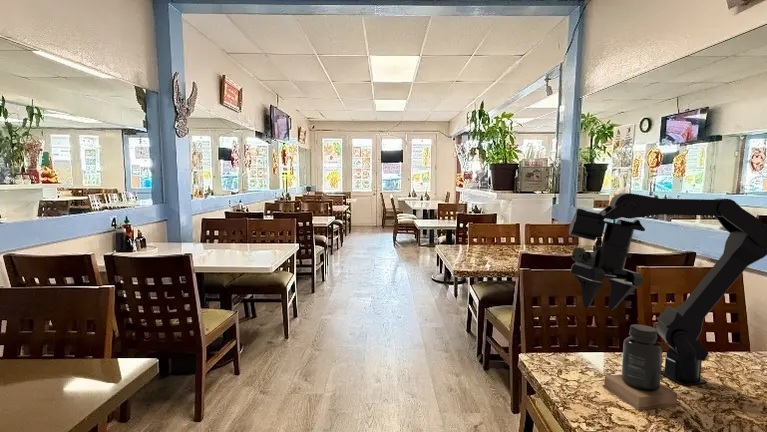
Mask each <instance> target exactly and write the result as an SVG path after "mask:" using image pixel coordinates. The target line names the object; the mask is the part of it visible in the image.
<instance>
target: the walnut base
mask: <svg viewBox="0 0 767 432" xmlns="http://www.w3.org/2000/svg"><path fill="white" fill-rule="evenodd" d="M603 383H604V384H602V387H603V388H604V389H605V390H607V391H609V392H610V393H612V394H614V395H615V396H616V397H617V398H619V399H621V400H622V401H623V402H625V403H626V404H628V405H630V406H631V407H632V408H634V409H636V410H637V411H644V410H652V409H653V410H654V409H662V408H672V407H679V403H678V393H677V392H676V391H674V390H672V389H670V388H668V387H666V386H665V385H663V384H661V383H660V388H659V389H658V390H656V391H643V390H639V389H636V388H633V387H631V386H629V385H627V384H625V383H624V382H623V380H622V373H620V374H611V375H604V382H603Z"/></svg>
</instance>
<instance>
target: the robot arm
mask: <svg viewBox="0 0 767 432" xmlns="http://www.w3.org/2000/svg"><path fill="white" fill-rule="evenodd" d="M658 215H667V216H668V215H671V216H672V215H673V216H674V215H676V216H706V217H713V216H714V218H715V219H716V220H717V221H718V222H719V224H720V225H721V227H723V229H724V230H725V231H727V233H729V235H728V237H727V239H726V241H725V244H724V249H723V253H722V255H721V256H720V257H719V258H718V260H717V261H716V262H715V264H714V265H713V266H712V267H711V269H710V270H709V271H708V272H707V273H706V274H705V276H704V277H703V279H702V280H700V282H699V283H698V285H697V286H696V287H695V288H694V290H693V291H692V292H691V293H690V295H688V297H687V298H686V299H685V300H684V301H683V303H682V304H681V305H679V306H677V307H675V308H673V307H671V306H670V305H667V306H666V307H665V309H664V311H663V312H662V314H660V315H659V316H657V317H656V320H658V321H657V323H656V325H655V328H656V330H657V331H658V332H657V334H658V335H659V336H660V338H662V339H663V340H664V342H665V344H666V345H667V346H668V347H669V348H668V349H666V357H664V358H665V359H664V370H662V369H661V376H664V377H666V378H668V379H670V380H672V381H674V382H676V383H678V384H679V385H681V386H693V385H694V386H697V385H705V384H706V385H707V384H708V381H707V380H706V379H704V378H702V377H701V376H702V362H705V361H706V359H707V357H708V355H709V351H708V350H707V349H705V348H704V346H703V345H701V343H699V341H697V340H698V339H699V337H700V336H701V333H702V329H703V324H704V320H705V318H706V317H707V315H708V314H709V313H710V312H711V310H713V308H714V307H715V306H716V305H717V303H718V302H719V301H720V300H721V298H722V297H724V295H725V294H726V293H727V292H728V290H729V289H730V288H731V287H732V286H733V284H734V283H735V282H736V281H737V280H738V278H739V277H740V275H742V274H743V272H744V271H745V270H746V269H747V268H748V267H749V266H750V265H753V264H755V263H756V262H757V261H760V260H762V259H764V258H765V257H766V256H767V223H766V224H765V223H763V222H762V221H761V220H760V219H759V218H757V217H756V216H755V215H754V214H752V213H750V212H749V211H747V210H746V209H744V208H742V206H740V205H739V204H738V203H737V202H736V201H735V200H734V199H731V198H720V197H719V198H714V199H706V198H705V199H704V198H703V199H702V198H701V199H699V198H697V199H696V198H660V197H654V196H649V195H642V194H638V193H629V192H628V193H627V192H625V193H618V194H616V195H614V197H612V199H611V200H610V202H609V205H608V206H607V207H605V208H604V209H601V210H600V211H599V212H598V213H597V212H593V211H588V210H586V209H582V208H576V210H575V213H574V214H573V217H572V220H570V224H569V229H568V235H569V236H571V237H577V238H581V239H586V240H590V241H596V239H597V238H598V239H599V238H601V237H602V236H603V237H602V240H601V244H600V245H596V246H595V247H594V250H593V251H586V249H585V248H584V247H574V248H573V251H572V253H571V260H573V262H574V263H573V264H571V267H570V273H571V274H573V277H574V278H576V279H577V281H578V282H579V285H580V289H581V297H582V306H583V307H584V308H585V309H589V307H590V306H591V305H592V303H593V301H594V300H595V298H596V297H597V295H598V293H599V292H600V290H601V288H602V287H603V285H604V282H602V281H603V280H604V279H605V278H607V279H608V283H609V284H610V293H609V298H608V307H607V308H608V309H609V310H611V311H613V310H614V309H615V308H616V307H618V305H619V304H620V303H621V302H622V301H624V299H626V297H628V296H629V295H630V294H631V293H632V292H633V291H634V290H636V289H637V288H638V286H639V287H641V286H642V285H643V281H644V277H643V276H642V274H641V273H639V272H636V271H632V270H630V269H626V268H625V265H626V262H627V261H626V260H627V258H632V256H633V253H630V252H629V250H630V247H631V243H632V239H633V235H634V232H635V231H640V232H645V231H646V228H645V227H644V226H643V224H642V223H641V221H640V220H639V219H637V218H646V217H651V216H658ZM621 218H624V219H634V220H633V221H629V220H624V219H621ZM605 219H608V220H612V221H615V220H617V219H618V220H617V221H616V222H610V221H608V220H607V221H606V220H605Z"/></svg>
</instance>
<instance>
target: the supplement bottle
mask: <svg viewBox="0 0 767 432" xmlns="http://www.w3.org/2000/svg"><path fill="white" fill-rule="evenodd" d="M628 335H629V336H628V337H626V338H624V340H623V345H622V346H623V347H622V365H621V374H622V380H623V382H624V383H625V384H627V385H629V386H631V387H633V388H636V389H639V390H643V391H656V390H658V389H659V388H660V384H661V383H662V382H661V381H662V380H661V379H662V374H661V370H662V366H663V365H662V364H663V347H662V345H661V344H660V343H659V342H658V331H657V328H656V327H652V326H649V325H646V324H645V325H644V324H636V323H635V324H631V325H630V326H629V332H628Z"/></svg>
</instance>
